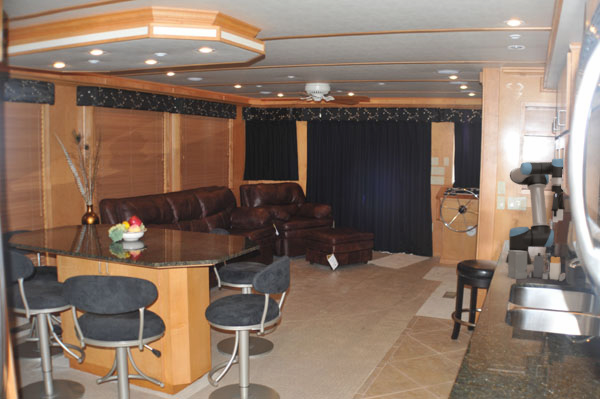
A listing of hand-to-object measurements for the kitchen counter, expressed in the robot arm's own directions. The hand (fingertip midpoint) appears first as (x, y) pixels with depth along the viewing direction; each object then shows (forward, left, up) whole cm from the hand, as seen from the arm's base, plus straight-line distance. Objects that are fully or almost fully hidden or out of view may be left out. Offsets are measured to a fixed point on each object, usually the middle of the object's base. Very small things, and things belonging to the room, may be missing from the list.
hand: (557, 221), depth 312 cm
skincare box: (+29, -15, -31) cm, 44 cm away
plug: (+21, +3, -30) cm, 37 cm away
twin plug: (+21, -5, -30) cm, 37 cm away
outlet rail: (+21, -1, -31) cm, 37 cm away
